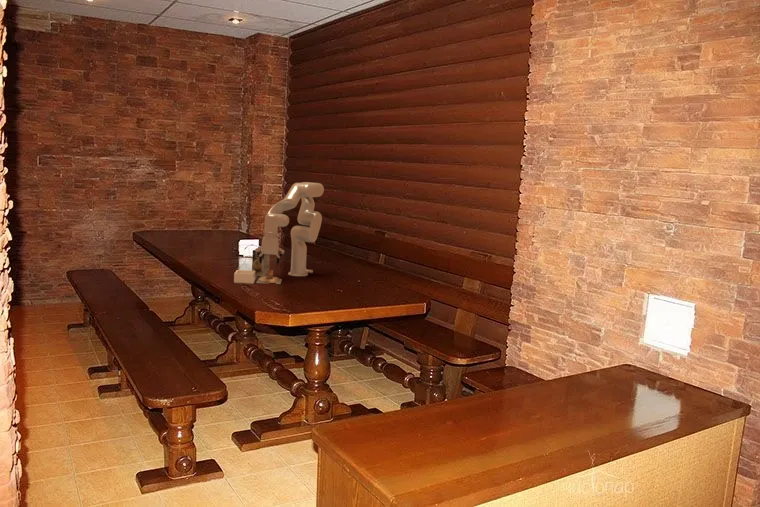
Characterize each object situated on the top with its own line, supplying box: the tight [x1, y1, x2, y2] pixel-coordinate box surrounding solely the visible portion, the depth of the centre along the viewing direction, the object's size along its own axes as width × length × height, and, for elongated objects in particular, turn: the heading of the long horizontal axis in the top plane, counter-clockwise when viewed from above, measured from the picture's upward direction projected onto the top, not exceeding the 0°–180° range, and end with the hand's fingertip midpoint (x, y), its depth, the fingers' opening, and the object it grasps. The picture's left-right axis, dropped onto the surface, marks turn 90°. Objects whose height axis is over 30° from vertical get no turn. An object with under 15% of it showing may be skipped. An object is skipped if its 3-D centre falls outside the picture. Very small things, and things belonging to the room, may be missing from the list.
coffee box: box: [251, 249, 271, 278], centre depth 390 cm, size 9×6×16 cm
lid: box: [258, 269, 281, 284], centre depth 375 cm, size 12×12×6 cm
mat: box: [255, 278, 283, 285], centre depth 375 cm, size 14×14×1 cm
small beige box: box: [233, 269, 256, 285], centre depth 370 cm, size 11×11×6 cm
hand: (269, 263), depth 373 cm, fingers open, 9 cm apart
